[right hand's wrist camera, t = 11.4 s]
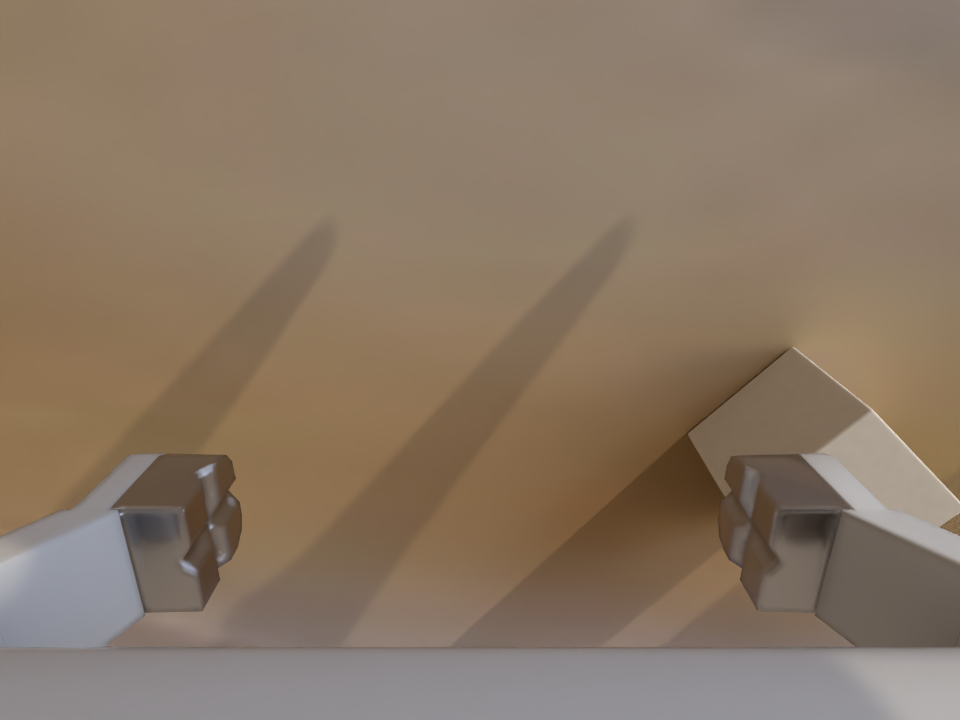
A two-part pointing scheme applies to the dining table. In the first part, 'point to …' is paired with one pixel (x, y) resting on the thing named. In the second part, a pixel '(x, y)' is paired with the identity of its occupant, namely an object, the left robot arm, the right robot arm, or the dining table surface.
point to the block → (820, 436)
